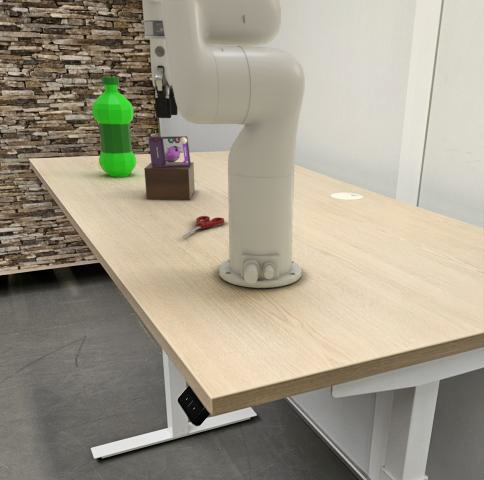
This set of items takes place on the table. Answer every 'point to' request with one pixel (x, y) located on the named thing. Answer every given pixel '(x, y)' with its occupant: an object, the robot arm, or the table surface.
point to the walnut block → (170, 181)
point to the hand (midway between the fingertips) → (167, 116)
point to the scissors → (206, 223)
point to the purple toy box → (168, 151)
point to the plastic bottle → (114, 129)
